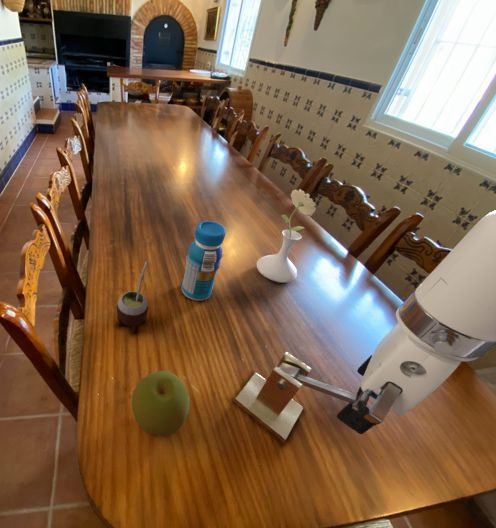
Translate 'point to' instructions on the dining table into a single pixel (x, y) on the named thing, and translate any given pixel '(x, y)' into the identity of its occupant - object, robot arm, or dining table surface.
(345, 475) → the dining table surface
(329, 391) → the lever
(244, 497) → the dining table surface
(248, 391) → the bracket
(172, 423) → the apple
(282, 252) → the flower in vase
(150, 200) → the dining table surface
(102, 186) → the dining table surface
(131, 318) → the mate gourd
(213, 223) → the beverage bottle
